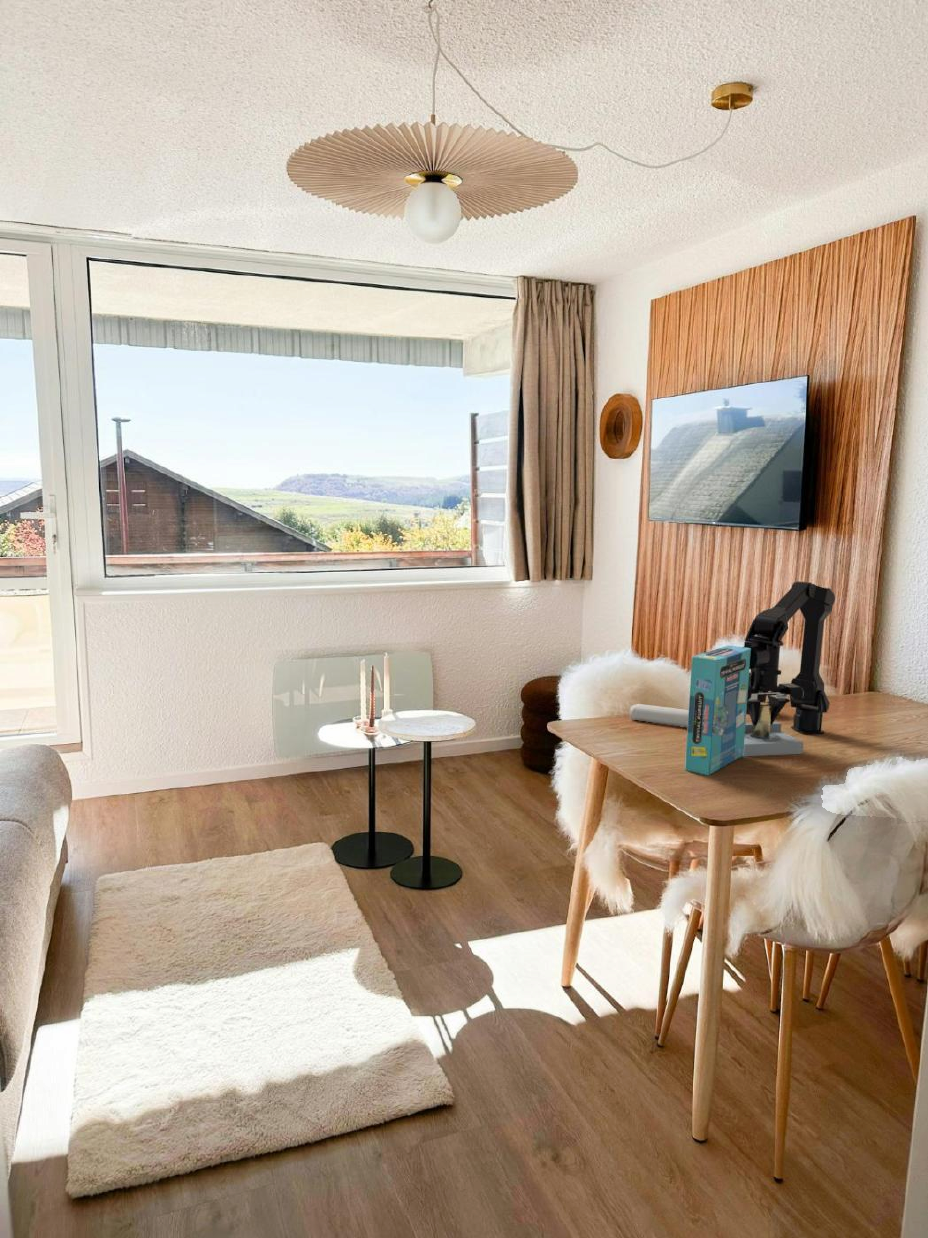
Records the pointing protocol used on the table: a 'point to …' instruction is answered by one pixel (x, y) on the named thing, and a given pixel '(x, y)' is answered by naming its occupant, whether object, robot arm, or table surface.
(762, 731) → the brass cylinder
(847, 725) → the table surface
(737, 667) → the game box
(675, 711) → the tube
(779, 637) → the robot arm
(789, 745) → the jig
